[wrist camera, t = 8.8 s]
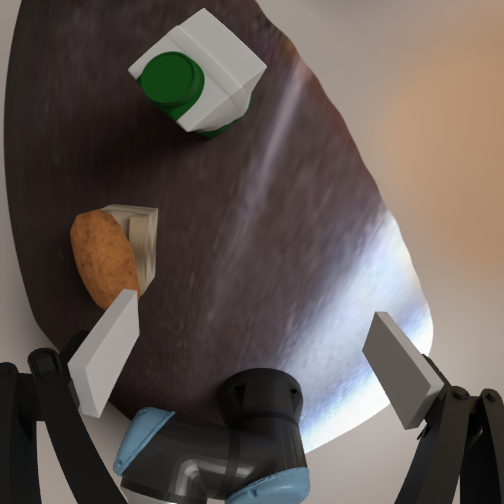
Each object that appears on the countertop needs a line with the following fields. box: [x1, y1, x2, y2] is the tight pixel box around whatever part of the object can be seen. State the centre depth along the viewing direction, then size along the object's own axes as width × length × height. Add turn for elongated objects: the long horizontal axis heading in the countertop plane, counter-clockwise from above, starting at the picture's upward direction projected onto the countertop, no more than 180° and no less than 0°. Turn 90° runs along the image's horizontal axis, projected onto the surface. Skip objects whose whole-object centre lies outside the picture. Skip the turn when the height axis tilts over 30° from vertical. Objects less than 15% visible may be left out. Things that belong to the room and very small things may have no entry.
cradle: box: [100, 204, 158, 295], centre depth 38 cm, size 10×7×6 cm
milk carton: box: [128, 8, 267, 139], centre depth 27 cm, size 9×9×20 cm
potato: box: [70, 209, 140, 311], centre depth 32 cm, size 7×13×7 cm, turn 7°
